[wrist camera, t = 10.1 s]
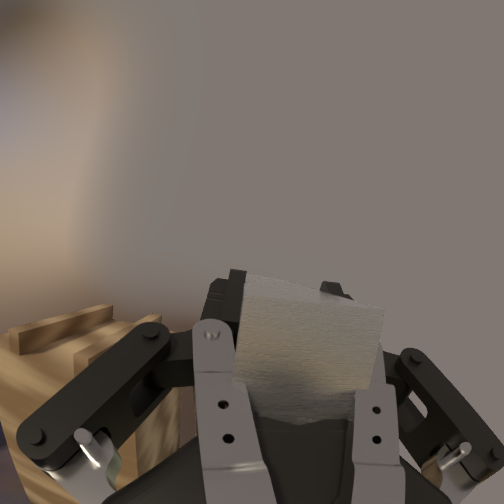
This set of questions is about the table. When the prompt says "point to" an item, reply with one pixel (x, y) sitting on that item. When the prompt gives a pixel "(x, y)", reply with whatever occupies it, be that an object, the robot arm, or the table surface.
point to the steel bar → (303, 350)
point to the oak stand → (62, 372)
